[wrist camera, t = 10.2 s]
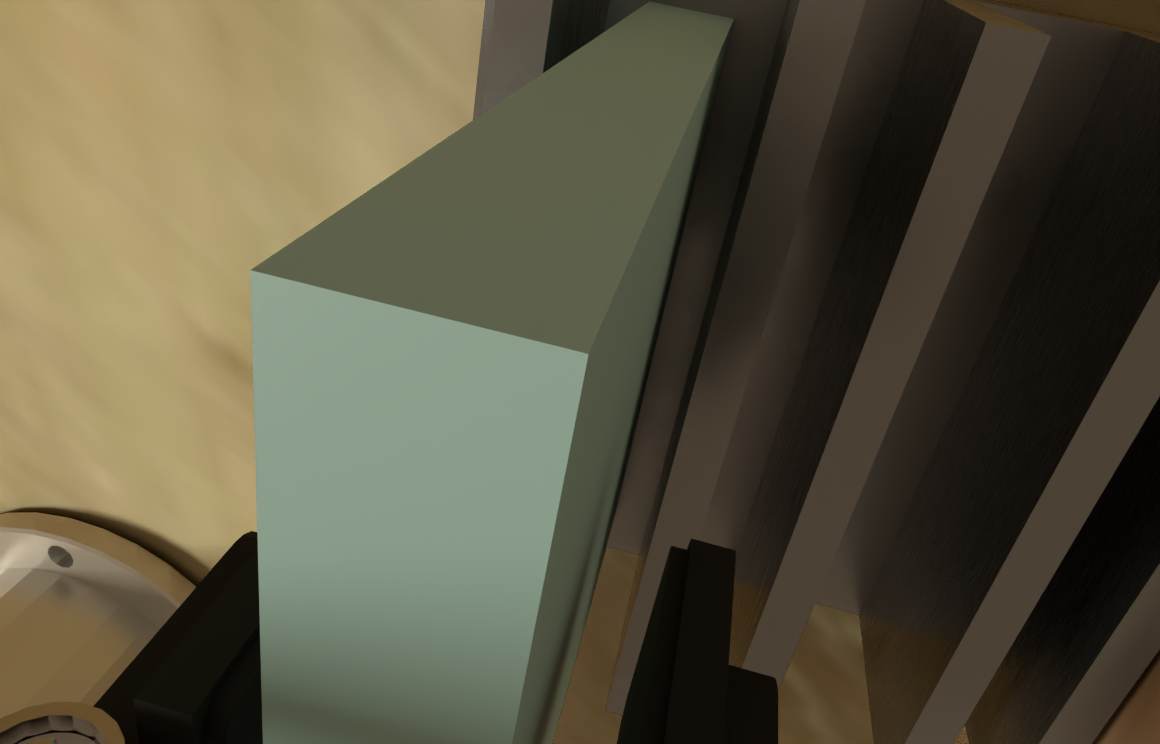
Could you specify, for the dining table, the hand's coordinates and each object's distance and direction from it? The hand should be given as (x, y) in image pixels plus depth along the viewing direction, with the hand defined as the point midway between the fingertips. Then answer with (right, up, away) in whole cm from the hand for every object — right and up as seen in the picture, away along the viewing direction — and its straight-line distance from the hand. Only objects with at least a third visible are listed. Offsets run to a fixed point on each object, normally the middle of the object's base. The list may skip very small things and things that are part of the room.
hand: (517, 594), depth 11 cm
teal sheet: (+2, +4, +8) cm, 10 cm away
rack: (+8, +4, +9) cm, 13 cm away
